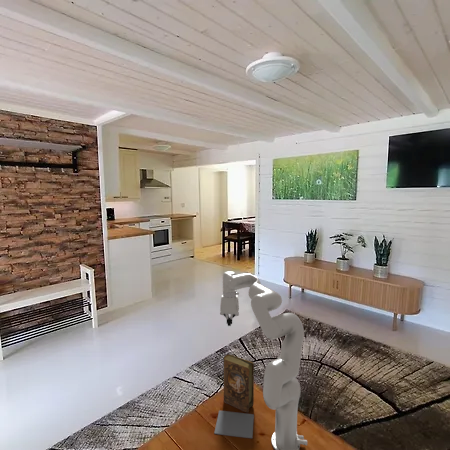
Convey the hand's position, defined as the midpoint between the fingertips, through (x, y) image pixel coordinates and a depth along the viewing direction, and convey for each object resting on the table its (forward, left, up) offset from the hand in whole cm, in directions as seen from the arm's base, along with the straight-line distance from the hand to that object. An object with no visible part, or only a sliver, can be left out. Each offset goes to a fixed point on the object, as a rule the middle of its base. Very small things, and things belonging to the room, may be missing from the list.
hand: (229, 324), depth 158 cm
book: (-6, +11, -39) cm, 41 cm away
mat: (-6, +25, -39) cm, 47 cm away
